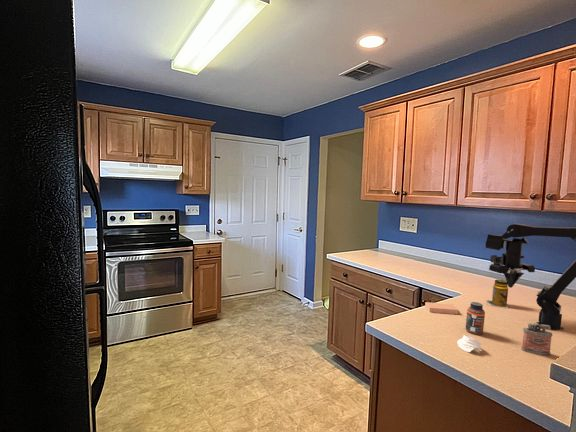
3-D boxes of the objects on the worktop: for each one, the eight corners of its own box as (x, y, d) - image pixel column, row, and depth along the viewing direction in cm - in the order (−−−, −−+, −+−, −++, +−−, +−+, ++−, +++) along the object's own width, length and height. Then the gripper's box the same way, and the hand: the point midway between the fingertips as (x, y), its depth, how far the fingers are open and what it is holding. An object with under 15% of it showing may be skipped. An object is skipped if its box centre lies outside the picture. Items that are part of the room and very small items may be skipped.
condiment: (508, 308, 149) (510, 283, 148) (487, 304, 154) (489, 280, 152) (506, 303, 156) (508, 280, 155) (486, 300, 160) (488, 277, 159)
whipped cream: (452, 346, 113) (451, 333, 113) (467, 342, 115) (466, 329, 115) (471, 356, 105) (470, 342, 105) (487, 352, 107) (486, 338, 107)
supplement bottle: (476, 336, 119) (478, 307, 118) (461, 329, 125) (464, 301, 124) (486, 333, 122) (489, 305, 121) (472, 327, 127) (474, 300, 126)
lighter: (523, 351, 109) (525, 323, 108) (519, 347, 112) (522, 319, 111) (551, 356, 106) (555, 328, 105) (547, 352, 109) (550, 324, 108)
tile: (452, 304, 147) (425, 302, 149) (458, 309, 140) (429, 307, 142) (452, 309, 147) (425, 307, 149) (457, 315, 140) (429, 313, 142)
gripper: (513, 248, 148) (510, 281, 149) (480, 248, 143) (477, 282, 145) (537, 253, 137) (533, 288, 138) (502, 254, 133) (498, 290, 134)
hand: (510, 287), depth 139 cm, fingers closed
